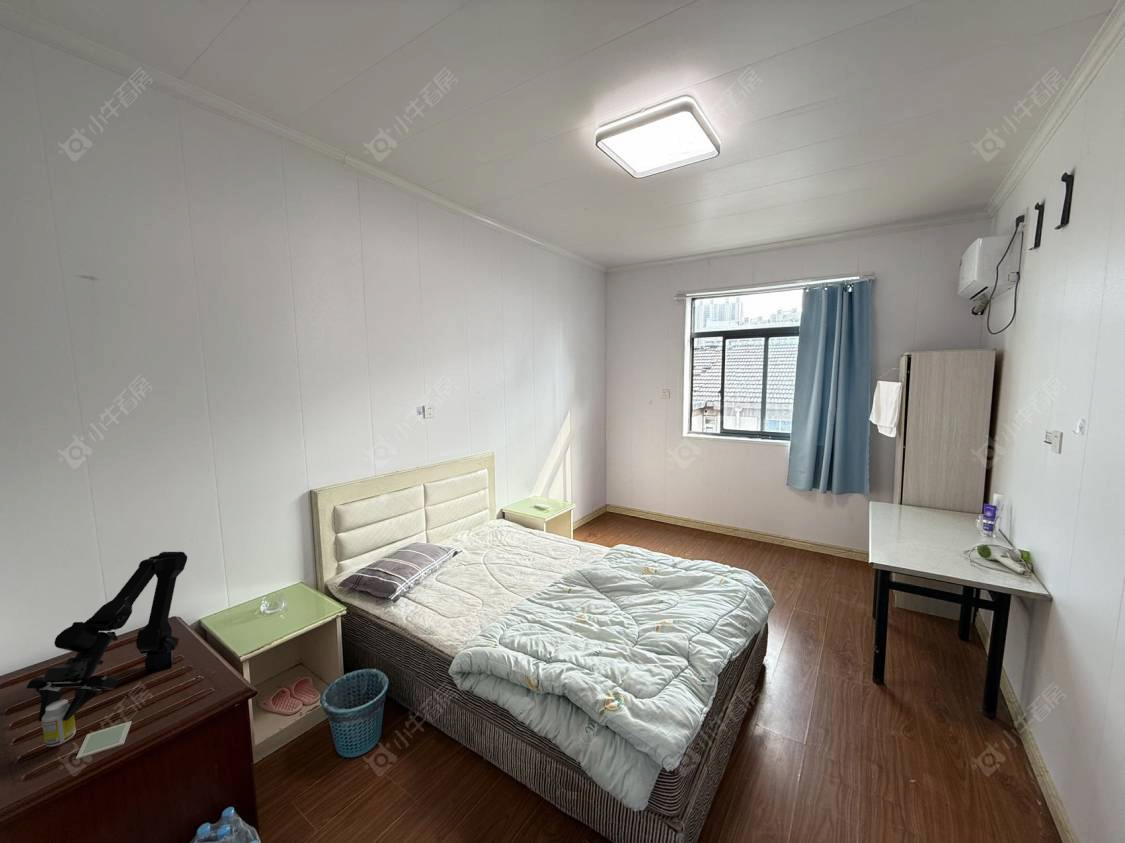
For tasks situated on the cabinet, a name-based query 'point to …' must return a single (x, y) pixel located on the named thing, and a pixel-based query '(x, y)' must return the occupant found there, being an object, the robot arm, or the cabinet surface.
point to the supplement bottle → (57, 724)
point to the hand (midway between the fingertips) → (52, 721)
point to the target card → (104, 740)
